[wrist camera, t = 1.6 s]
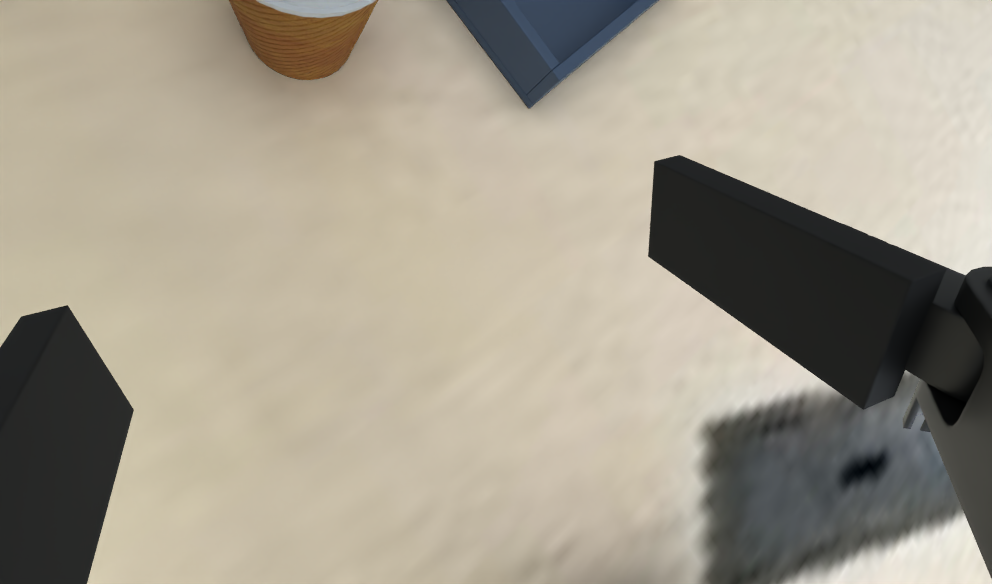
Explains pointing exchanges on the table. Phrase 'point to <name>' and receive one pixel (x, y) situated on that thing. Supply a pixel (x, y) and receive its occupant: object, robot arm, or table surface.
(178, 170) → the table surface
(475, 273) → the table surface
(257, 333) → the table surface
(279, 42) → the disposable coffee cup
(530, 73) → the bin
